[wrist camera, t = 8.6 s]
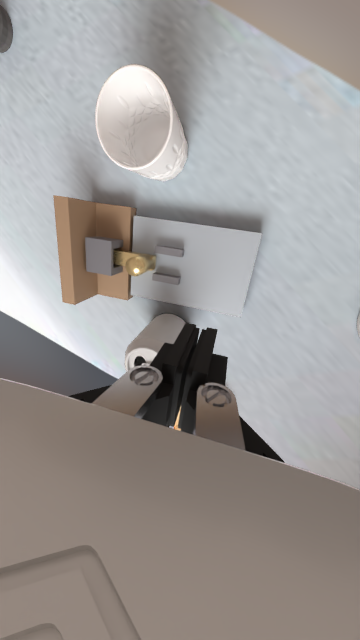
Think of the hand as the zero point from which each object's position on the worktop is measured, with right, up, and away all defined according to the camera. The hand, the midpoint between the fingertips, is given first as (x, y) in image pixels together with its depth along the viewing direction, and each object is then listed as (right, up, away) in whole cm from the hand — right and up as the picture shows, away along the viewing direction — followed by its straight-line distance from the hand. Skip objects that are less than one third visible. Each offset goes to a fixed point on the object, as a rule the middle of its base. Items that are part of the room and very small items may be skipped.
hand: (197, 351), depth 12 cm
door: (-4, +11, +24) cm, 27 cm away
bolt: (-9, +11, +23) cm, 27 cm away
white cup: (-3, +24, +19) cm, 31 cm away
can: (-2, 0, +29) cm, 29 cm away
